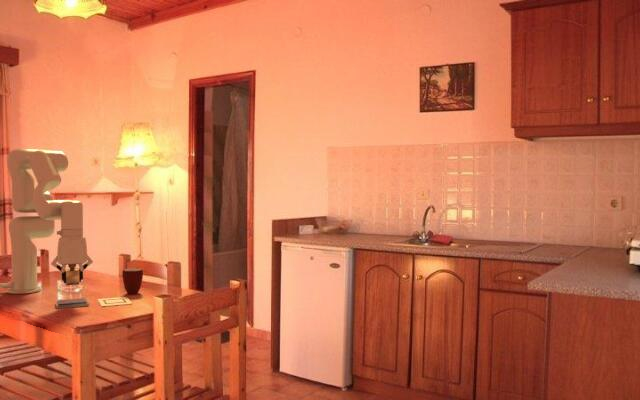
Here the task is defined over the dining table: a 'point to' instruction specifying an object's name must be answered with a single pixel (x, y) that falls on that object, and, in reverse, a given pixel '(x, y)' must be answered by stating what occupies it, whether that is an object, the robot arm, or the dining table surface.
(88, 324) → the dining table surface
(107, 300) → the card
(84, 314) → the dining table surface
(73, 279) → the stamp
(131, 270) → the mug
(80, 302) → the ink pad
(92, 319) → the dining table surface
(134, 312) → the dining table surface
